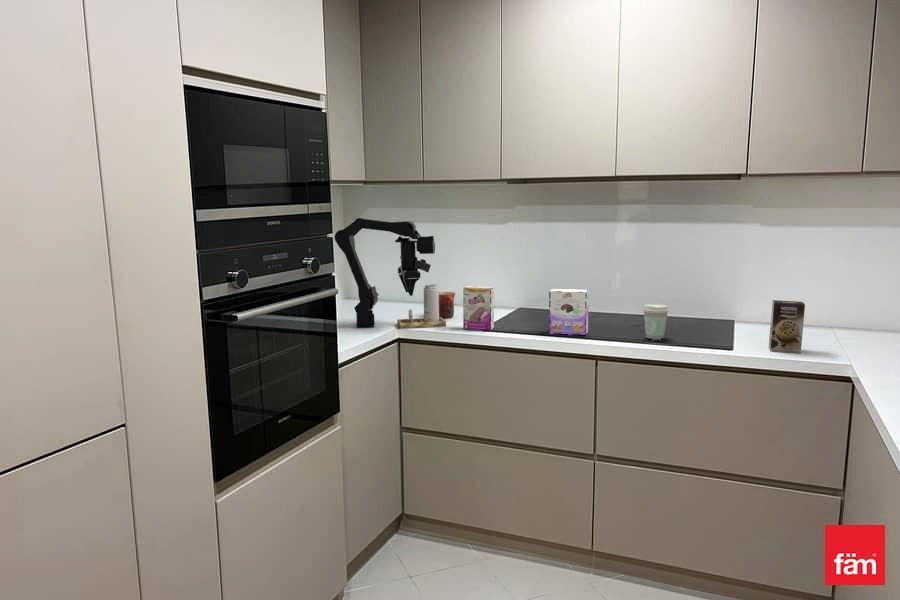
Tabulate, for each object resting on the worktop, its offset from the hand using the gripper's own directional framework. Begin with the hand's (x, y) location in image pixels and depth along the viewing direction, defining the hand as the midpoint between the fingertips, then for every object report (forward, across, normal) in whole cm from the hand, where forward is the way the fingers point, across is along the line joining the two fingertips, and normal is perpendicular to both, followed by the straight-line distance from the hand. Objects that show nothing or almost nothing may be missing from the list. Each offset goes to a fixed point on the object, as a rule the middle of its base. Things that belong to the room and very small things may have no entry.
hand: (409, 294), depth 257 cm
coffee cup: (+14, -43, -81) cm, 93 cm away
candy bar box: (+14, -11, -25) cm, 30 cm away
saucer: (+13, +2, -1) cm, 13 cm away
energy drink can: (+12, +2, -9) cm, 15 cm away
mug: (+13, +15, -18) cm, 27 cm away
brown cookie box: (+14, -69, -113) cm, 133 cm away
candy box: (+14, -27, -55) cm, 63 cm away
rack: (+13, +2, -5) cm, 14 cm away
